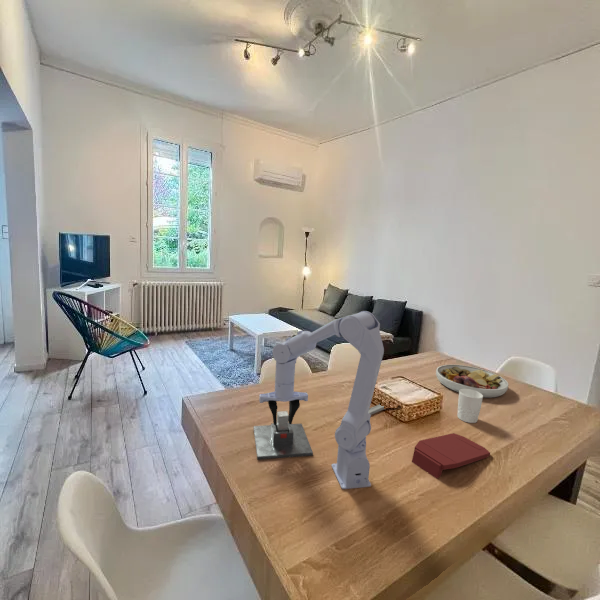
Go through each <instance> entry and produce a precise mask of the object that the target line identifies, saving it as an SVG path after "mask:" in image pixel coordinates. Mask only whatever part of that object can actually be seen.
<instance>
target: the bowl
mask: <svg viewBox="0 0 600 600" xmlns="http://www.w3.org/2000/svg"><path fill="white" fill-rule="evenodd" d="M435 377H436V378H437V379H438V380H437V381H439V382H440V383H441V384H442V385H443V386H445V387H446V388H448V389H450V390H452V391H454V392H456V393H459V390H461V389H470V390H474V391H477V392H479V393H481V394H482V395H483V398H498V397H500V396H503V395H504V394H506V392H507V391H508V390H509V389H508V388H509V382H508V380H506V378H503V377H502V376H501V375H499V374H496V373H495V372H491V371H489V370H486V369H484V368H483V369H482V368H479V367H475V366H474V367H473V366H470V365H463V364H444V365H440V366H438V367H437V368H436V370H435Z"/></svg>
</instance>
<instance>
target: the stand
mask: <svg viewBox="0 0 600 600" xmlns="http://www.w3.org/2000/svg"><path fill="white" fill-rule="evenodd" d="M276 428H277V424H276V425H274V423H273V422H272V423H271V424H268V425H254V426H253V435H254V443H255V450H256V451H255V452H256V459H257V461H261V460H271V459H272V460H275V459H285V458H298V457H299V458H300V457H312V456H314V452H313V449H312V446H311V444H310V441H309V439H308V437H307V434H306V432H305V428H304V427H303V424H302V423H292V424H289V422H288V431H282V432H277V431H276Z"/></svg>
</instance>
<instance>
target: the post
mask: <svg viewBox="0 0 600 600" xmlns="http://www.w3.org/2000/svg"><path fill="white" fill-rule="evenodd" d="M276 417H277V428H276V431H277V432H282V431H288V423H289V421H288V418H289V412H288V410H284V411H283V410H282V411H277V416H276Z"/></svg>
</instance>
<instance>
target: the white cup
mask: <svg viewBox="0 0 600 600" xmlns="http://www.w3.org/2000/svg"><path fill="white" fill-rule="evenodd" d="M483 398H484V397H483V395H482V394H481V393H479V392H477V391H474V390H470V389H461V390H459V392H458V399H457V418H458V419H459V420H460V421H463V422H465V423H468V424H475V423H477V422H478V421H479V420H478V419H479V416H480V411H481V409H482V404H483Z"/></svg>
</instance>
